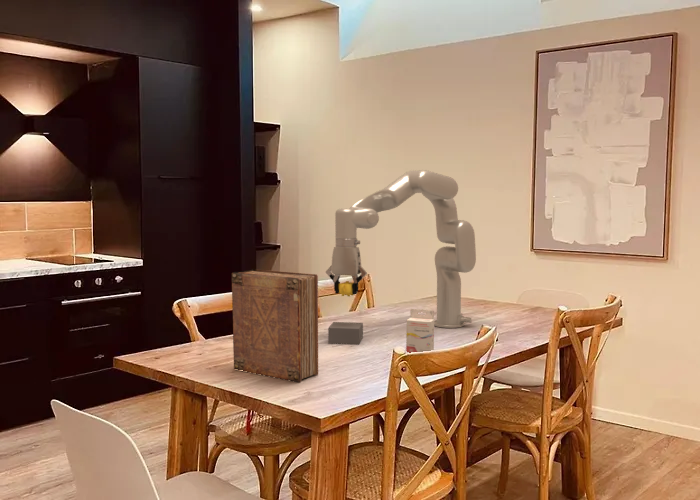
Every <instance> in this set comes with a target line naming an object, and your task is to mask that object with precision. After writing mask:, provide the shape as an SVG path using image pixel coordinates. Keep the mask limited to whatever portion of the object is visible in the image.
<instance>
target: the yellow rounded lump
mask: <svg viewBox="0 0 700 500" xmlns="http://www.w3.org/2000/svg"><path fill="white" fill-rule="evenodd" d="M353 283H354V282H351V281H349V280H346V281H345V282H340V283H339V284H338V289H339V293H338V294H339V295H341V297H344V296H347V297H351V296H354V295H353V293H352V284H353Z"/></svg>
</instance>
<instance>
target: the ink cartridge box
mask: <svg viewBox="0 0 700 500" xmlns="http://www.w3.org/2000/svg"><path fill="white" fill-rule="evenodd" d="M409 313H410V317H409V318H408V319H406V333H405V334H406V338H405V339H406V344H405V348H406V349H405V351H407V352H409V353H411V352H423V351H431V350H435V326H434V321H435V317H434V316H435V315H434V314H435V311H434V310H433V309H421V308H410V312H409ZM420 313H423V314H420Z"/></svg>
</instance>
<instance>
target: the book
mask: <svg viewBox="0 0 700 500" xmlns="http://www.w3.org/2000/svg"><path fill="white" fill-rule="evenodd" d="M318 281H319V275H318V273H317V274H316V273H303V272H292V271H291V272H290V271H280V270H269V269H268V270H266V269H265V270H264V269H255V268H254V269H253V268H252V269H246V270H241V271H239V270H238V271H234V272H232V273H231V293H232V294H231V302H232V343H233V348H232V349H233V351H232V352H233V370H234V369H238V370H243V371H247V372H246V373H248V372H251V373H250V374H253V373H256V374H255V375H258V374H261V375H260V376H263V375H265V377H268V376H270V377H269V378H273V377H275V378H274V379H278V378H280V379H279V380H283V379H285V380H284V381H288V380H290V381H289V382H293V381H294V383H301V382H302V380H303V379H306V378H309V377H311V376H318V375H319V282H318ZM243 371H242V372H243Z"/></svg>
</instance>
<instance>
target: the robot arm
mask: <svg viewBox="0 0 700 500" xmlns="http://www.w3.org/2000/svg"><path fill="white" fill-rule="evenodd" d="M458 192H459V185H458V181H456V179H454V178H452V177H450V176H447V175H444V174H440V173H438V172H434V171H430V170H427V169H425V170H424V169H421V170H420V169H419V170H417V169H416V170H414V169H413V170H409V171H406V172H405V173H403V174H401V176H399V177H398V178H396V179H395V180H393V181H392V182H391V183H390V184H388V185H387V186H385V187H384V188H382V189H379V190H377V191H376V192H374V193H372V194H369V195H367V196H365V197H363V198H361V199H359V200H358V201H357V202H355V203H354V204H352V205H351V206H350V207H349V208H339V209H337V210H335V213H334V216H335V221H334V222H335V236H334V237H335V246H334V247H333V250H332V256H331V265H330V266H329V267H328V268H327V269H326V271H325V273H326V274H327V276H328V277H329V278H330V279H331V281H332V282H333V287H334V289H333V290H334V293H335V294H339V289H338V284H339V283H341V281H340V277H341V276H351V278H352V280H353V282H352V283H353V284H352V293H353V295H352V296H355V295H356V294H358V293H359V283H360V281H362V280H363V278H364V277H366V275H367V274H368V273H367V270H365V269H364V268H363V267H362V258H361V251H360V247H359V246H358V245H360V244H361V240H358V237H357V233H358V232H357V229H364V230H365V229H366V230H368V229H373V228H374V227H376V226H377V225H378V223H379V221H380V217H379V213H381V212H386V211H391V210H393V209H395V208H398V207H399V206H401V205H402V204H403V203H405V202H406V201H407V200H409V199H410V198H411V197H413V196H414V195H415V194H421V195H423V197H424V198H426V199H427V200H428V201H430V203H431V204H432V205H433V208H434V215H435V226H436V227H435V228H436V237H437V239H438V241H440V243H443V244H448V245H449V244H450V245H454V246H448V245H447V246H442V247H440V248H438V249H437V250H436V252H435V254H434V266H435V270H436V319H434V327H437V328H441V329H442V328H443V329H445V328H446V329H457V328H462V327H464V326H465V323H472V317H469V316H463V313H462V312H461V311H462V309H461V308H462V278H461V275H460V273H465V274H466V273H470V272H471V271H473V269H474V267H475V266H476V262H477V261H476V260H477V254H476V235H475V229H474V227H473V226H472V224H471V223H470V222H469V221H467V220H464V219H459V216H458V211H457V204H456V201H455V199H454V198H455V197H456V196H457V194H458ZM359 274H360V275H359Z"/></svg>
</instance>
